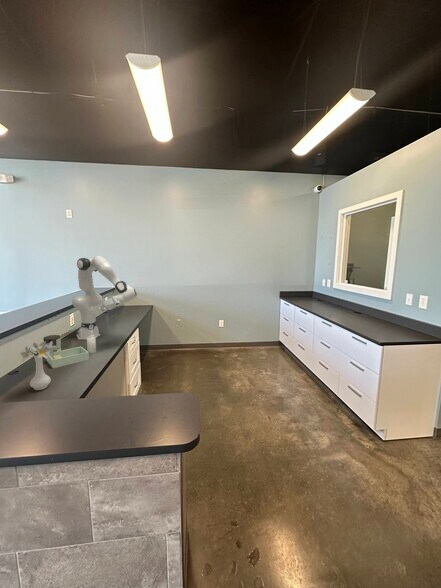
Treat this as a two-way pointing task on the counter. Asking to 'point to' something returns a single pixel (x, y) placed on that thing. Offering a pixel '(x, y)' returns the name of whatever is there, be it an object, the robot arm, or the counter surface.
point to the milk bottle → (91, 341)
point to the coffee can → (54, 339)
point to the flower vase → (39, 363)
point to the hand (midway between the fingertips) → (100, 309)
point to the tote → (68, 357)
